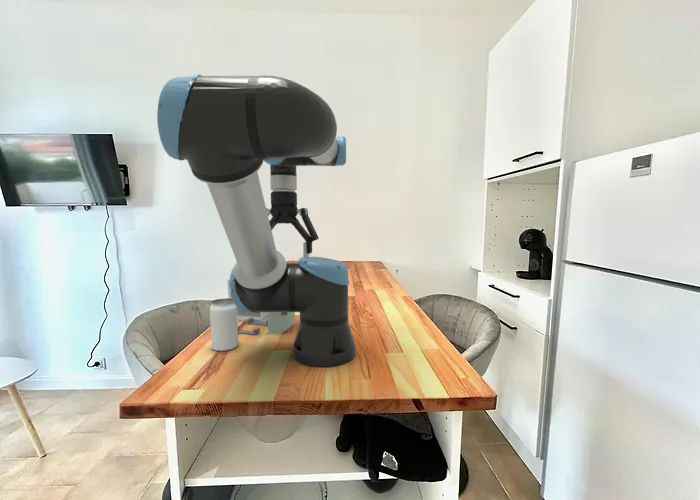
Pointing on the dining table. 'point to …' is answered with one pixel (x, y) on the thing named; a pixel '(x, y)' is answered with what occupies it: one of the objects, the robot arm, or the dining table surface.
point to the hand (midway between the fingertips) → (284, 264)
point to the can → (223, 324)
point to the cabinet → (250, 318)
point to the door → (280, 321)
